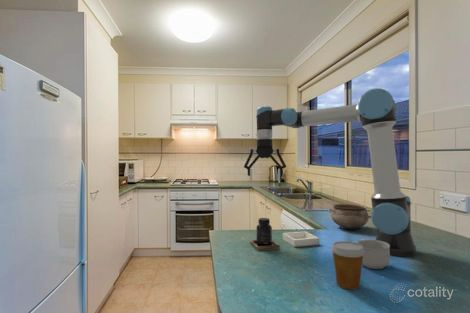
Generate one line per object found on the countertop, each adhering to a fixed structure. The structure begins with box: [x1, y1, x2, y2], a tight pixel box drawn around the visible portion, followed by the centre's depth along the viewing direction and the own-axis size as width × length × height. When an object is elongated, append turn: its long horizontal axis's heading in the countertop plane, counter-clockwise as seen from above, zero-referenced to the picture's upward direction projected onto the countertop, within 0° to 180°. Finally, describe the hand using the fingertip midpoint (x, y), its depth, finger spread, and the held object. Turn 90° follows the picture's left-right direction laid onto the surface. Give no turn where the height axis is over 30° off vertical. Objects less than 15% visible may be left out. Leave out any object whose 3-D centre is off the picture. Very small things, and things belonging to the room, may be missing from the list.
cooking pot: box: [327, 202, 371, 231], centre depth 152 cm, size 25×19×12 cm
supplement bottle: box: [255, 217, 273, 246], centre depth 123 cm, size 7×7×12 cm
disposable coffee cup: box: [330, 240, 365, 291], centre depth 85 cm, size 10×10×12 cm
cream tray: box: [282, 230, 320, 248], centre depth 128 cm, size 12×12×3 cm
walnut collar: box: [249, 239, 281, 252], centre depth 122 cm, size 10×10×2 cm
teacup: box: [355, 238, 391, 270], centre depth 101 cm, size 14×11×8 cm
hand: (265, 182), depth 135 cm, fingers open, 13 cm apart
